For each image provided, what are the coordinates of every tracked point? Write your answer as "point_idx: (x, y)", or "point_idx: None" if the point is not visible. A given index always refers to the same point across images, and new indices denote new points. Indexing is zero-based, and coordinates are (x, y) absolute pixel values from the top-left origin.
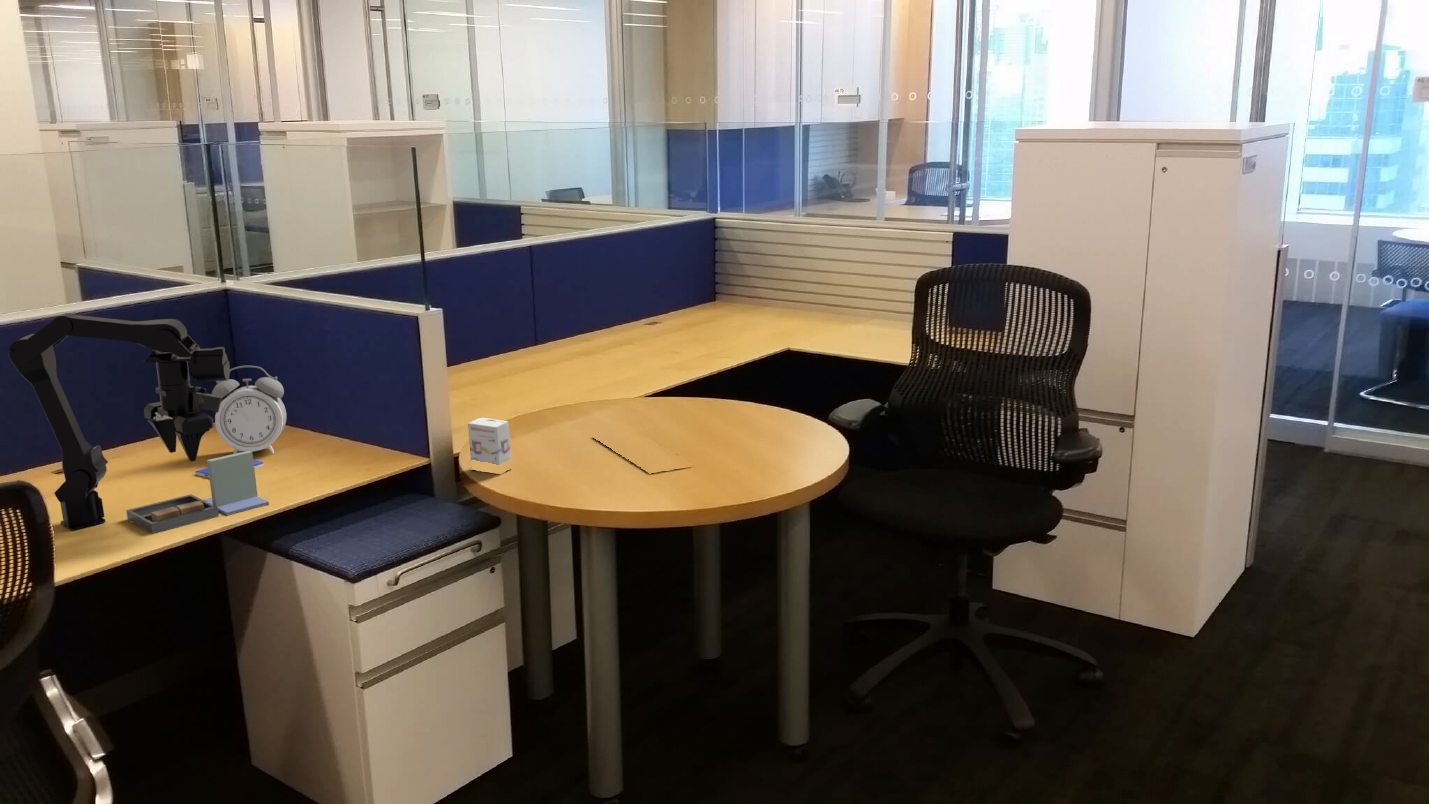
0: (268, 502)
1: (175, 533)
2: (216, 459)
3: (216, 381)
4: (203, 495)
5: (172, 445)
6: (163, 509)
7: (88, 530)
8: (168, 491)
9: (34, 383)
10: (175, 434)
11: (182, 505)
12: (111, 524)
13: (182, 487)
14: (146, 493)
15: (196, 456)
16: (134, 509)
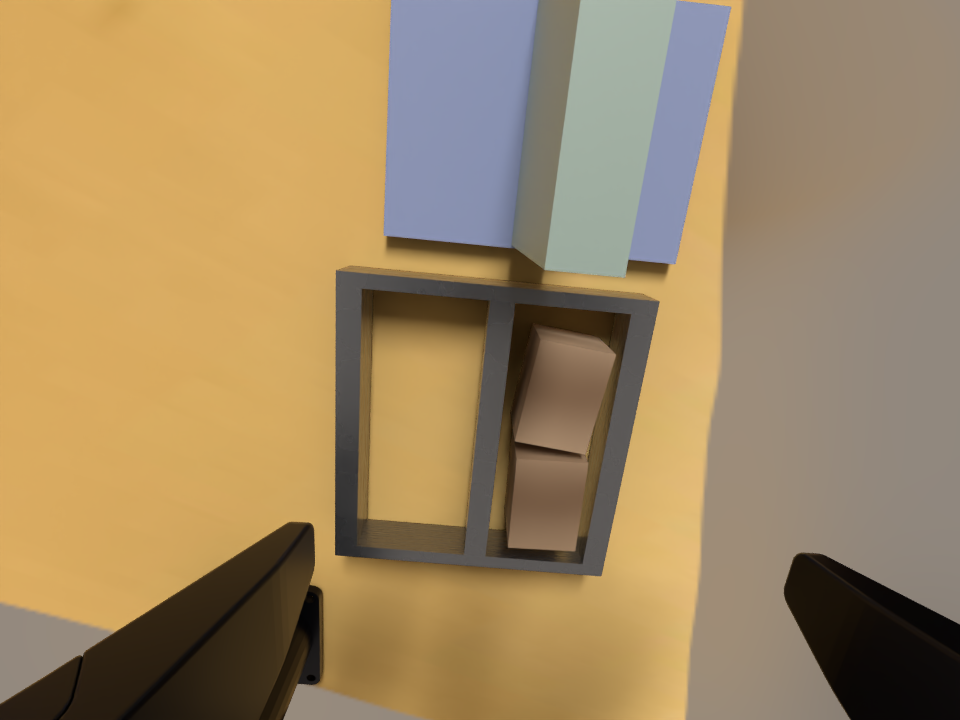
0: (726, 10)
1: (665, 500)
2: (613, 195)
3: None
4: (268, 160)
5: (280, 610)
6: (515, 499)
7: (356, 643)
8: (61, 238)
9: None
10: (155, 702)
11: (539, 424)
12: (356, 580)
13: (35, 153)
14: (21, 321)
15: (871, 581)
16: (354, 533)
